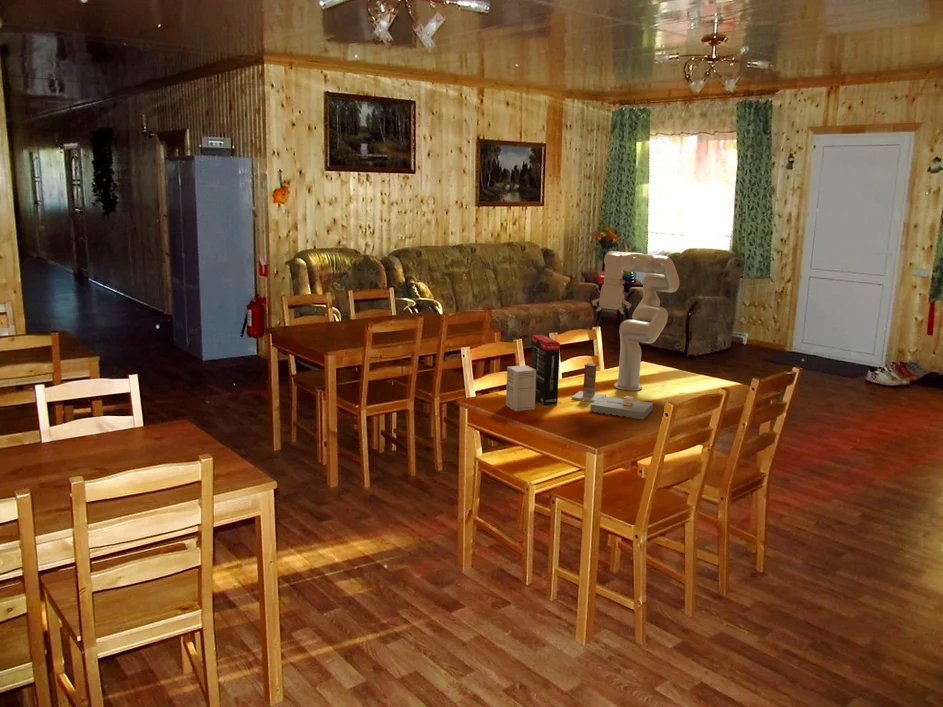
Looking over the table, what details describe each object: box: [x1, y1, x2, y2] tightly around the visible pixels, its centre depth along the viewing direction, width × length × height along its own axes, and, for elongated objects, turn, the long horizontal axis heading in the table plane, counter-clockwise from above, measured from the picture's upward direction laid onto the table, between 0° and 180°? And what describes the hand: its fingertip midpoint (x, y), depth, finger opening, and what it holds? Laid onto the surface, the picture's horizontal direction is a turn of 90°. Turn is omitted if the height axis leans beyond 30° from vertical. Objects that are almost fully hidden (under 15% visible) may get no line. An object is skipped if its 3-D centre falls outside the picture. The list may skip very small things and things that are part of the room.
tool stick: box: [583, 362, 597, 398], centre depth 349 cm, size 4×4×14 cm
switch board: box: [589, 395, 654, 421], centre depth 332 cm, size 16×22×3 cm
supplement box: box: [505, 364, 536, 412], centre depth 331 cm, size 10×9×17 cm
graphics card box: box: [530, 334, 561, 406], centre depth 342 cm, size 17×7×27 cm, turn 18°
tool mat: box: [570, 390, 607, 403], centre depth 351 cm, size 12×12×1 cm
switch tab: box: [623, 395, 634, 406], centre depth 331 cm, size 4×3×3 cm
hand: (610, 321), depth 349 cm, fingers open, 9 cm apart
